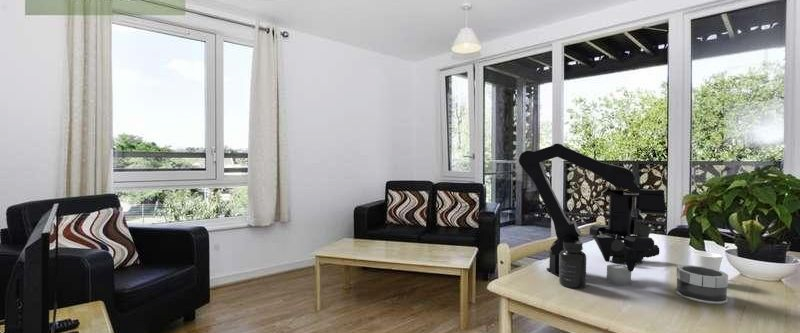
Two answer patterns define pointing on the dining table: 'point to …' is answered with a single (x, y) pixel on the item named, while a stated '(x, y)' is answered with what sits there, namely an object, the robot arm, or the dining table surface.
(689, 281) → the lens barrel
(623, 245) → the night vision scope
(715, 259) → the cup
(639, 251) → the robot arm
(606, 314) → the dining table surface
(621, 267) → the grey squat block
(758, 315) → the dining table surface
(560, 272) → the supplement bottle
